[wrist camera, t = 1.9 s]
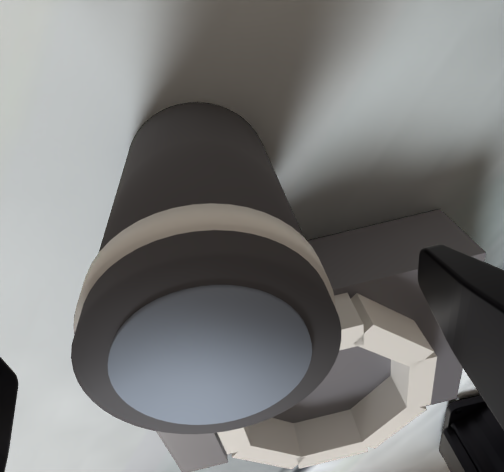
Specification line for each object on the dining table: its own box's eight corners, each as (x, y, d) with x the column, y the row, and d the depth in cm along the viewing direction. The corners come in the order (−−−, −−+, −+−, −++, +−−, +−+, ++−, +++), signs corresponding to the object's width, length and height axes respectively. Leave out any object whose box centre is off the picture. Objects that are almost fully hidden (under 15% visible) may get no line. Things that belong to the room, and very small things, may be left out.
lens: (255, 82, 12) (342, 219, 6) (279, 215, 15) (354, 409, 8) (99, 119, 12) (-1, 301, 6) (152, 245, 15) (128, 465, 8)
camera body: (439, 209, 16) (515, 281, 12) (424, 348, 21) (475, 428, 18) (128, 283, 16) (112, 378, 12) (190, 405, 21) (191, 498, 17)
